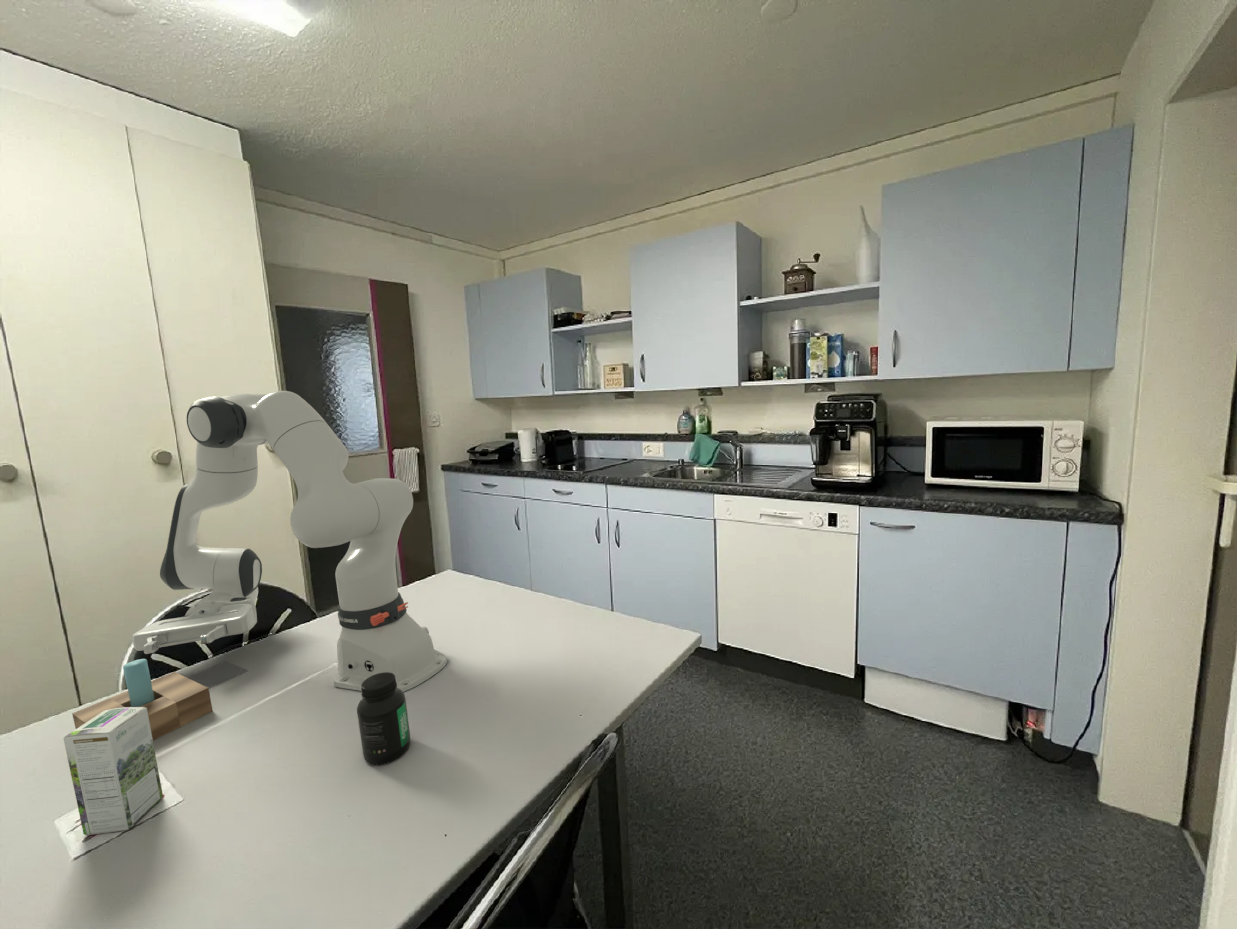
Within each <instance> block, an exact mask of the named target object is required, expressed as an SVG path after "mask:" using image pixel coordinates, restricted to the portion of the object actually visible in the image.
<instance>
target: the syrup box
mask: <svg viewBox="0 0 1237 929" xmlns="http://www.w3.org/2000/svg"><path fill="white" fill-rule="evenodd" d="M63 741H64V743H63V744H64V747H65V752H66V758H67V763H68V767H69V771H70V776H71V782H72V785H73V790H74V795H75V800H76V804H77V808H78V814H79V818H80V824H81V829H82V834H83V835H85V836H91V835H98V834H101V835H102V834H108V833H113V832H114V833H115V832H121V831H129V830H130V829H131V828H132V827H133V826H134V825H136V824H137V823H138V822H139V820H141V819H142V818H143V817H144V816H145V815H146V814H147V813H148V812H149V811H150V810H151V809H152V808H153V807H154V806H156V804H157V803H158V802H160V801H161V800H162V798H163V794H164V793H163V789H162V783H161V778H160V773H159V767H158V761H157V756H156V750H155V747H154V746H155V745H154V740H153V738H152V733H151V728H150V723H149V717H148V712H147V708H145V707H124V708H115V709H110V710H105V711H103V712H101V713H100V714H99V715H97V716H95V717H94V718H92V719H91V720H89V721H88V722H86V723H85V724H83V725H82V726H80V727H79V728H77V729H76V728H75V729H74V730H73V731H71V732H70V733H68V734H67V735H65V736H64V737H63Z"/></svg>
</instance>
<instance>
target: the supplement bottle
mask: <svg viewBox="0 0 1237 929" xmlns="http://www.w3.org/2000/svg"><path fill="white" fill-rule="evenodd" d="M361 690H362V691H361V700H360V701H359V702H358V705H357V708H356V714H357V721H358V728H359V735H360V743H361V747H362V748H361V749H362V755H363V759H364V761H365V762H366V763H367V764H369V765H371V766H383V765H388V764H390V763H392V762H395V761H397V760H398V759H399V758H401V757H403V755H405V753H407V752H408V750H409V748H410V746H411V742H412V740H411V731H410V723H409V716H408V708H407V700H406V699H407V698H406V694H405V693H404V692H405V691H404V692H403V691H402V690H401V689H399V688H397V683H396V678H395V675H394V674H393V673H389V672H384V673H379V674H375V675H373V676H370V677H369V678H367V679H366V680H365V681H363V683H362V685H361Z"/></svg>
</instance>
